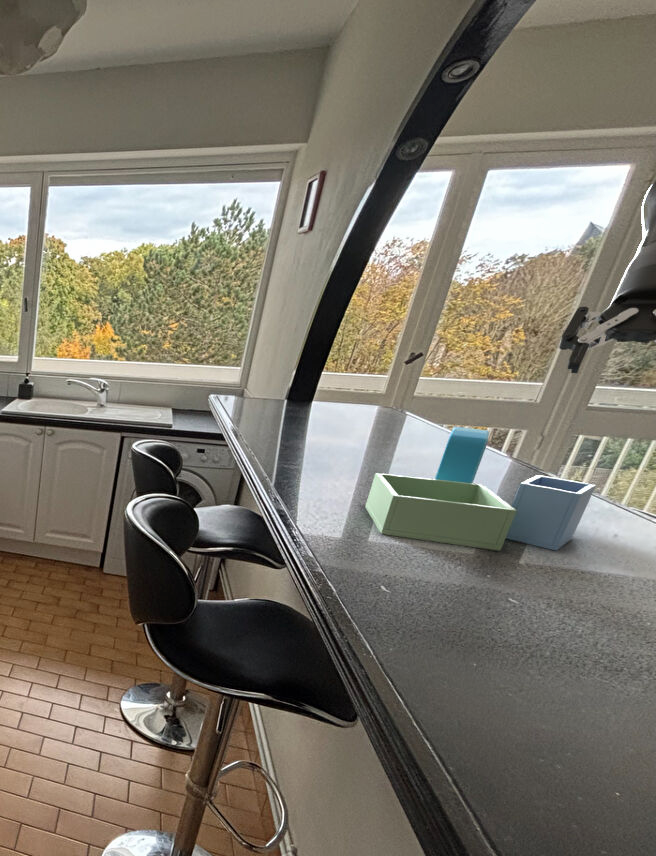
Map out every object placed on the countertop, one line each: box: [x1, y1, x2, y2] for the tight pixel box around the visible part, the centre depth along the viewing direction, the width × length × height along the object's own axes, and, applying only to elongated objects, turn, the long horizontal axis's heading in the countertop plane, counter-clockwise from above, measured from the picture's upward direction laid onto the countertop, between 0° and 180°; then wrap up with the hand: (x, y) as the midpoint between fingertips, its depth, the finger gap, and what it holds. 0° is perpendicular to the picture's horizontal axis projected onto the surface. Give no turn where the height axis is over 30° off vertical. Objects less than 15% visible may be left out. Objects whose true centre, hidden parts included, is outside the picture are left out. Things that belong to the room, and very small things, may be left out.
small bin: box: [505, 474, 597, 551], centre depth 82 cm, size 6×8×8 cm
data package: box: [434, 426, 490, 483], centre depth 95 cm, size 12×4×12 cm, turn 138°
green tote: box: [365, 472, 517, 552], centre depth 86 cm, size 13×13×6 cm
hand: (618, 372), depth 81 cm, fingers open, 8 cm apart
